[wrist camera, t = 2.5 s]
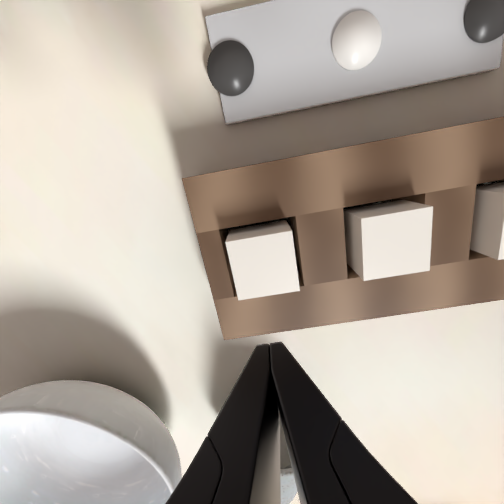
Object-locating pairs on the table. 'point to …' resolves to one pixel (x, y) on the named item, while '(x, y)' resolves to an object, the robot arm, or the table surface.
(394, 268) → the middle button
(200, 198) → the button board
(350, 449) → the robot arm
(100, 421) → the serving bowl
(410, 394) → the table surface
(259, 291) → the button
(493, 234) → the button
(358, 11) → the pattern card
